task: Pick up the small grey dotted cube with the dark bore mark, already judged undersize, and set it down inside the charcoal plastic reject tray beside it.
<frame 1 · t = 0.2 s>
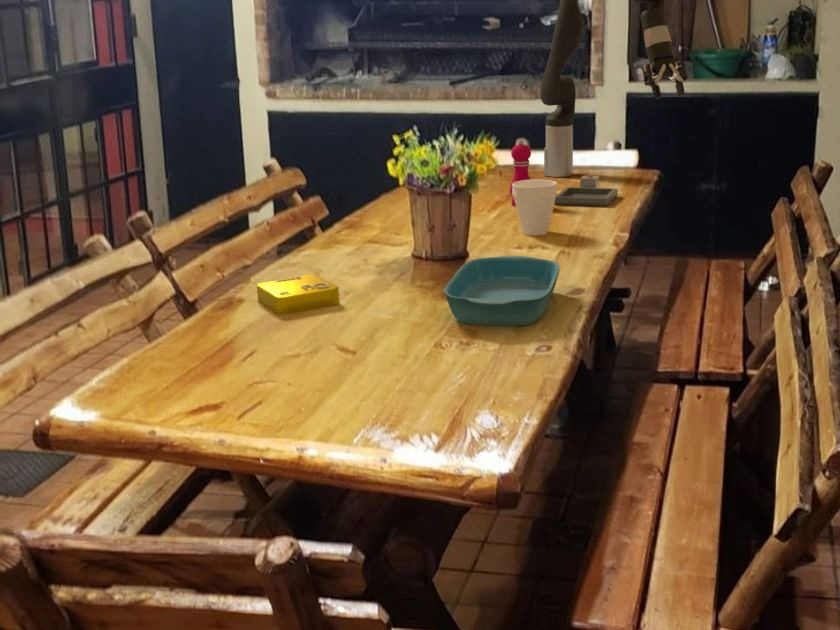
hand: (669, 97, 344), 31 cm above the table, tool tilted 20°, fingers open, 8 cm apart
pepper mill: (521, 205, 355), on the table
grey dotted cube: (589, 192, 369), on the table
casserole dish: (504, 308, 251), on the table
cup: (535, 233, 318), on the table
element tile: (298, 304, 261), on the table
reject tray: (586, 200, 356), on the table
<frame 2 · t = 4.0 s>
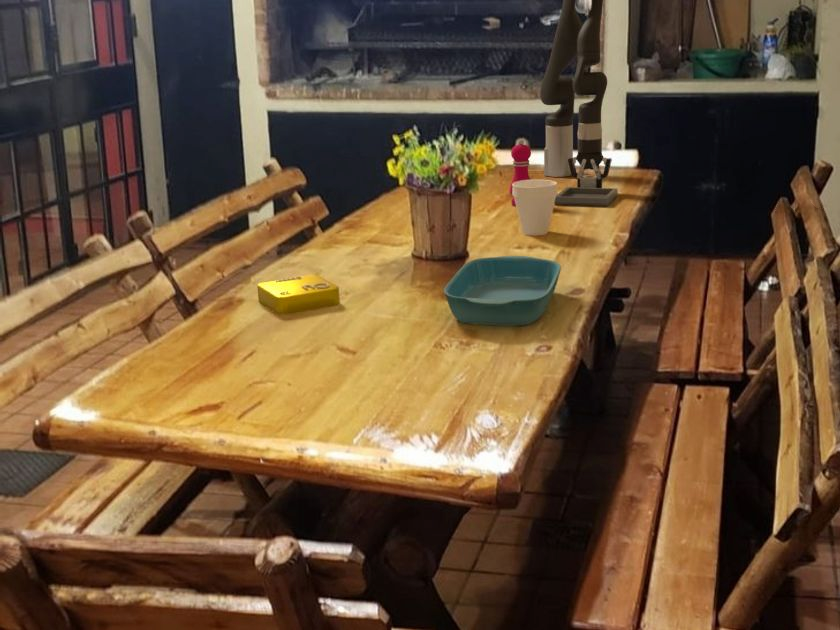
hand: (589, 190, 369), 1 cm above the table, tool pointing down, fingers closed on grey dotted cube, 5 cm apart
grey dotted cube: (589, 192, 369), on the table, touching gripper
everything else where it was.
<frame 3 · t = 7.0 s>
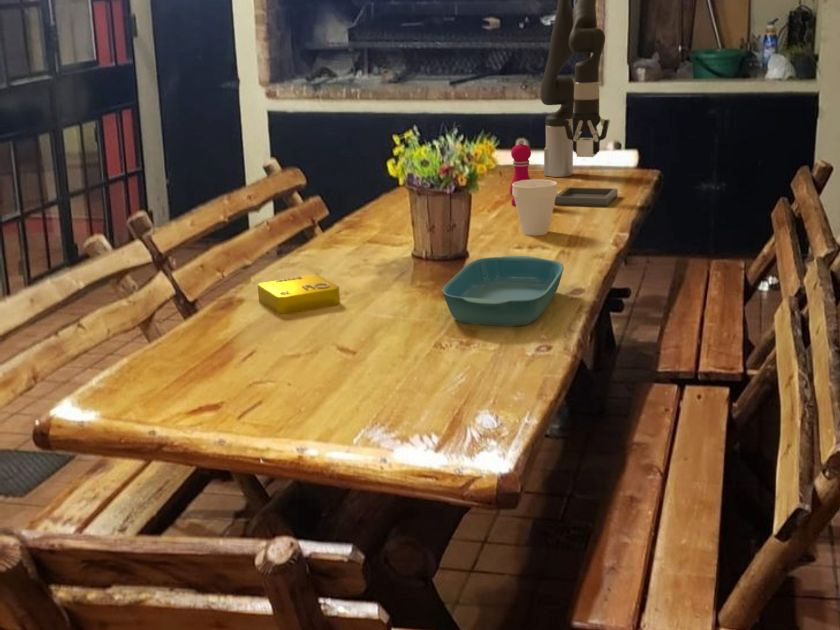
hand: (586, 153, 352), 15 cm above the table, tool pointing down, fingers closed on grey dotted cube, 5 cm apart
grey dotted cube: (586, 155, 352), point 14 cm above the table, touching gripper
when the fingers open (3 cm above the table, at t = 9.8 s): grey dotted cube drops 2 cm, resting on reject tray.
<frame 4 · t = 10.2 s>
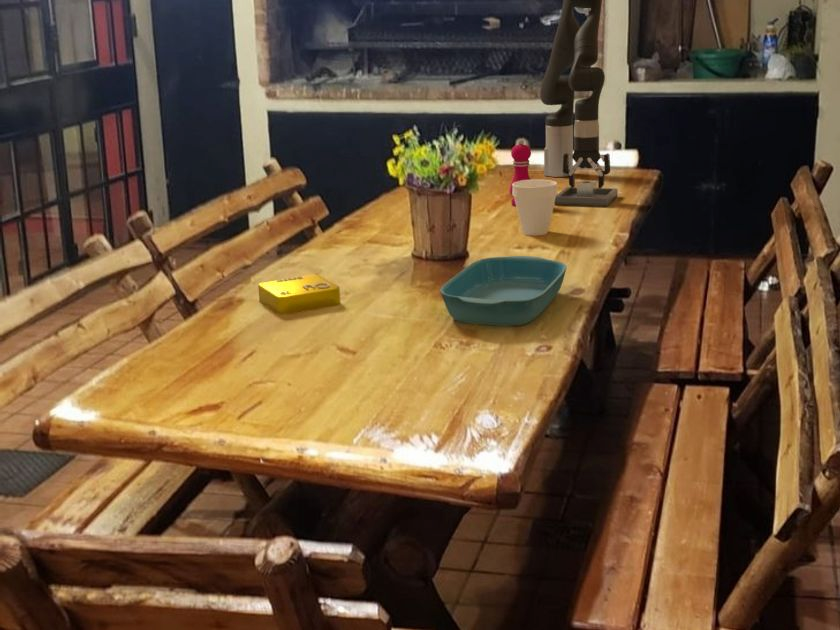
hand: (586, 187, 355), 4 cm above the table, tool pointing down, fingers open, 8 cm apart
grey dotted cube: (586, 198, 356), point 1 cm above the table, touching reject tray
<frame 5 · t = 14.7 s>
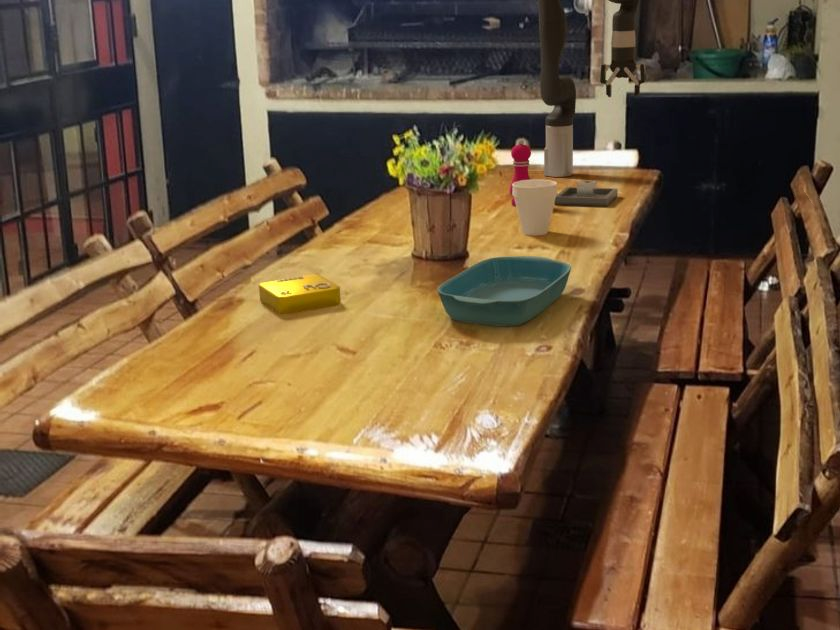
hand: (622, 96, 373), 28 cm above the table, tool pointing down, fingers open, 8 cm apart
at the end: grey dotted cube inside the target area on the reject tray (0.1 cm from its centre), point 0.8 cm above the reject tray's base; grey dotted cube tilted 0°; the gripper is holding nothing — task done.
